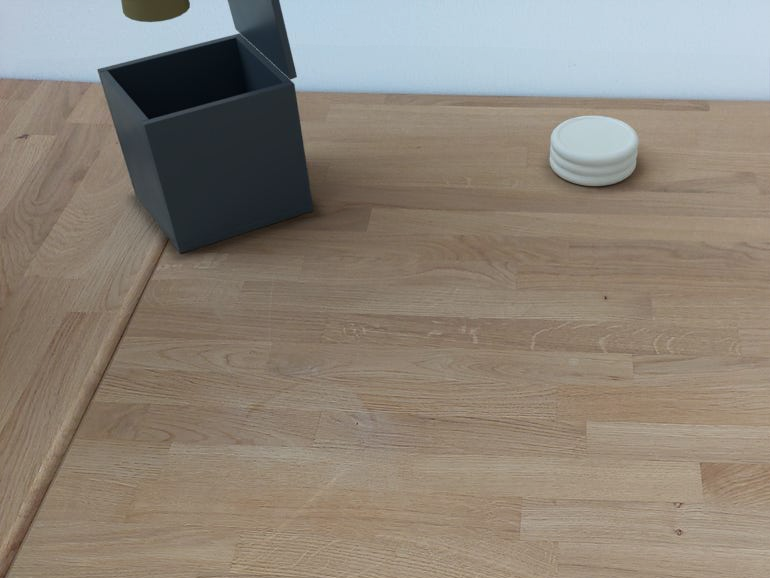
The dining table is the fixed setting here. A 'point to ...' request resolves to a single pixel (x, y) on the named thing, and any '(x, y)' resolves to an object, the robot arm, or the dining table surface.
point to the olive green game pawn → (154, 9)
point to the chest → (210, 139)
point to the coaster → (593, 150)
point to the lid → (264, 31)
